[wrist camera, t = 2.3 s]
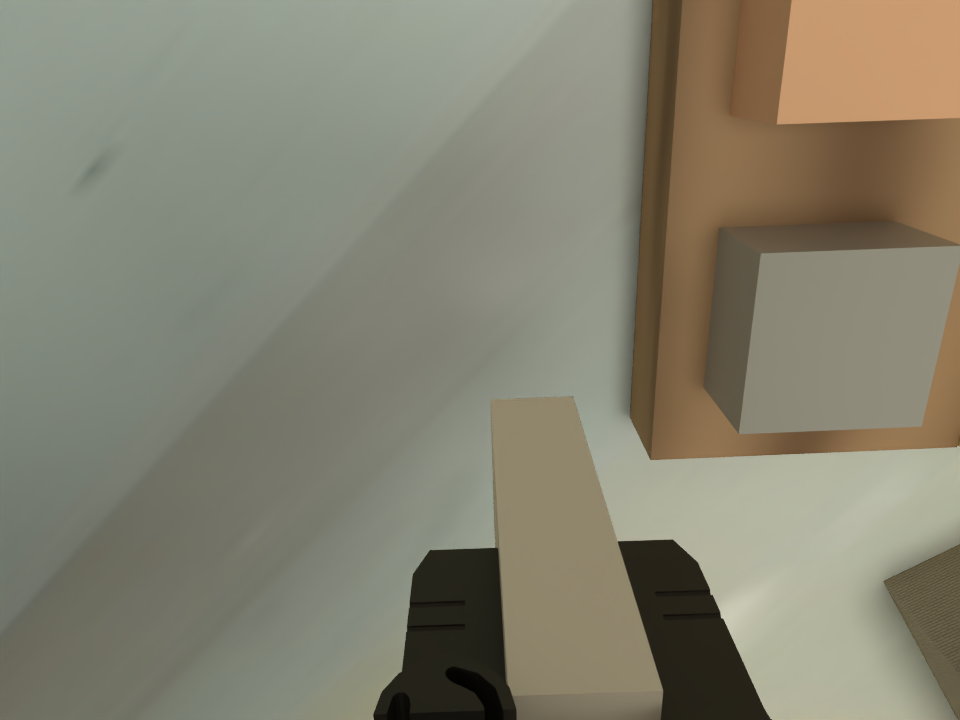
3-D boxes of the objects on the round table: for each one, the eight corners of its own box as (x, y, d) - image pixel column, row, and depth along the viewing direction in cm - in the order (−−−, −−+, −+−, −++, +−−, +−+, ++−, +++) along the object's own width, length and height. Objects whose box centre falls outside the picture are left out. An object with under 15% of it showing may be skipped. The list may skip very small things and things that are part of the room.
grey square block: (703, 388, 22) (738, 434, 19) (719, 227, 20) (760, 253, 17) (863, 381, 22) (921, 426, 19) (894, 220, 20) (963, 245, 17)
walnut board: (629, 417, 26) (650, 459, 23) (662, -189, 19) (698, -232, 16) (904, 406, 26) (956, 447, 23) (1036, -200, 19) (1134, -245, 16)
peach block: (730, 115, 19) (776, 124, 16) (751, -105, 17) (808, -137, 14) (916, 109, 19) (993, 116, 16) (958, -111, 17) (1054, -145, 14)
